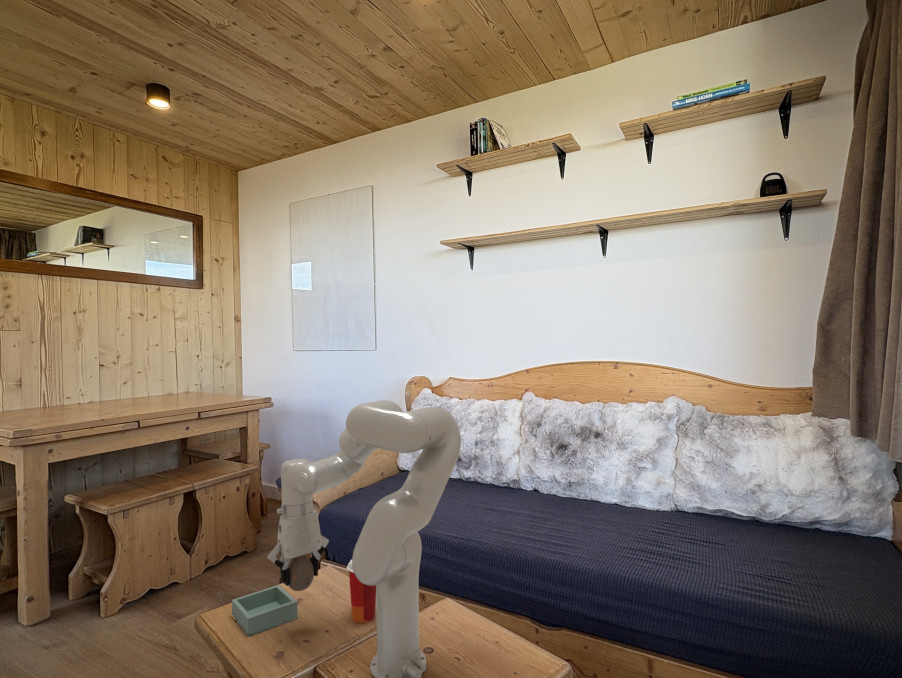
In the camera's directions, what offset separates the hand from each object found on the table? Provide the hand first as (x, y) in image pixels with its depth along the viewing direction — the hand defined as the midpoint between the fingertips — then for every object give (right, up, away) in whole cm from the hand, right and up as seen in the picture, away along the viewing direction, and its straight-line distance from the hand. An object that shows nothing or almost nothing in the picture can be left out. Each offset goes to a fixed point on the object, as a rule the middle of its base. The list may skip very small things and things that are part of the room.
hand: (300, 578), depth 129 cm
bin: (-12, -14, +7) cm, 20 cm away
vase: (0, -3, 0) cm, 3 cm away
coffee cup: (+15, -14, +7) cm, 21 cm away
